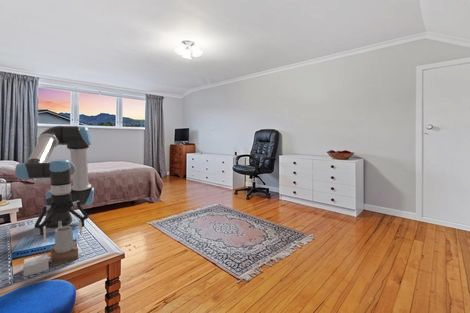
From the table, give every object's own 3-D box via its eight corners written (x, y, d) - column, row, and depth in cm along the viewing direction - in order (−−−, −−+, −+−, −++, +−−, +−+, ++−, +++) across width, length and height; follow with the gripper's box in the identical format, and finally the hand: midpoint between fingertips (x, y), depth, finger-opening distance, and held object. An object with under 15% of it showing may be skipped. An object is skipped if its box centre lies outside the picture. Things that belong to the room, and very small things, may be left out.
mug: (56, 255, 104) (55, 228, 103) (49, 246, 111) (48, 222, 110) (76, 248, 109) (75, 224, 108) (68, 241, 117) (67, 218, 116)
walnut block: (50, 256, 112) (50, 246, 111) (76, 250, 118) (75, 241, 117) (51, 265, 104) (50, 255, 103) (78, 258, 110) (77, 248, 110)
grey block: (25, 268, 102) (24, 259, 102) (48, 261, 107) (47, 253, 107) (23, 276, 96) (23, 267, 96) (48, 269, 101) (48, 260, 101)
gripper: (24, 199, 98) (28, 247, 99) (93, 191, 113) (95, 233, 115) (25, 195, 103) (28, 241, 105) (91, 188, 119) (92, 228, 121)
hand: (63, 237), depth 110 cm, fingers open, 13 cm apart
